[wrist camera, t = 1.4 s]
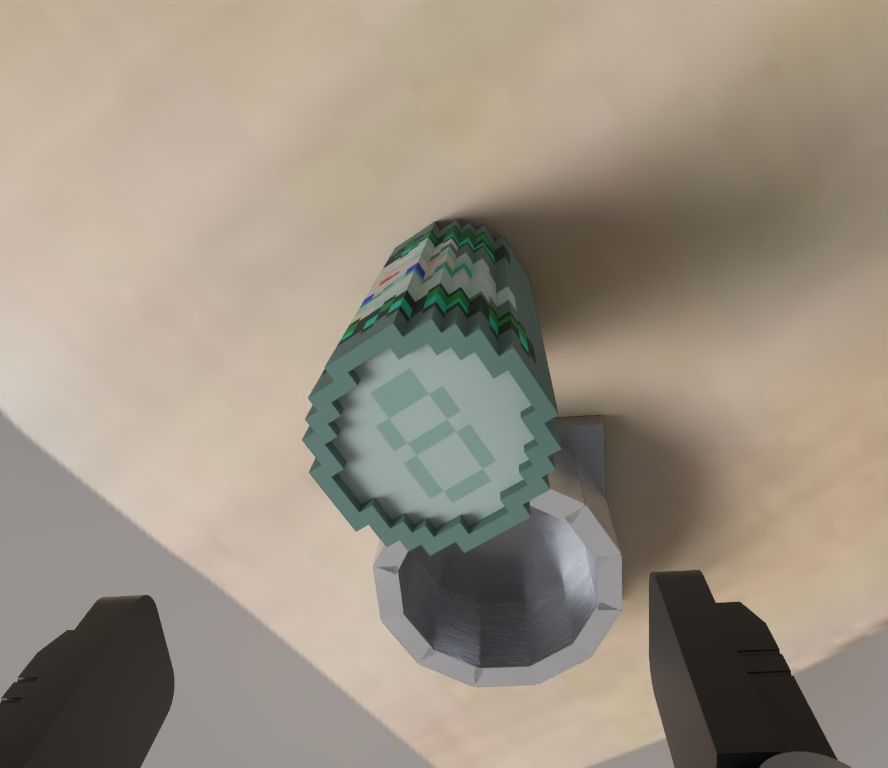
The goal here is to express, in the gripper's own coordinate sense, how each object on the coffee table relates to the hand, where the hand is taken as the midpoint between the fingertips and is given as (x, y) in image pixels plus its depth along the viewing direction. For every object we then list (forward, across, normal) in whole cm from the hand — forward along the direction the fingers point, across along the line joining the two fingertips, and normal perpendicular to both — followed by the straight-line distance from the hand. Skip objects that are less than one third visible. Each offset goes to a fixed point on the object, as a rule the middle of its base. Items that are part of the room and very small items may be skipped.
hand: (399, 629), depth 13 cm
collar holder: (+22, -1, +11) cm, 25 cm away
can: (+22, 0, 0) cm, 22 cm away
